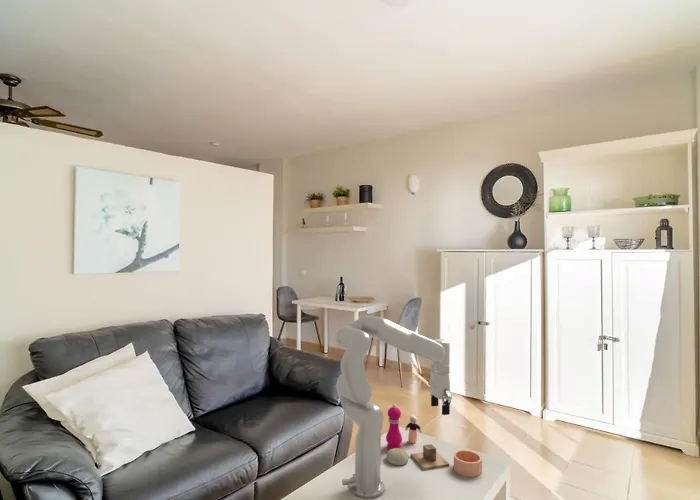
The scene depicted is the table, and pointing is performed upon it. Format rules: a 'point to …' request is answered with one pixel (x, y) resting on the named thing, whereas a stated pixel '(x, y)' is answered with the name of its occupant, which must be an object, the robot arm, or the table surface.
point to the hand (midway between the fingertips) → (440, 410)
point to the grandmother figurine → (412, 430)
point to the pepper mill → (394, 428)
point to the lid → (429, 458)
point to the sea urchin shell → (397, 456)
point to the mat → (428, 469)
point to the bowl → (467, 463)
